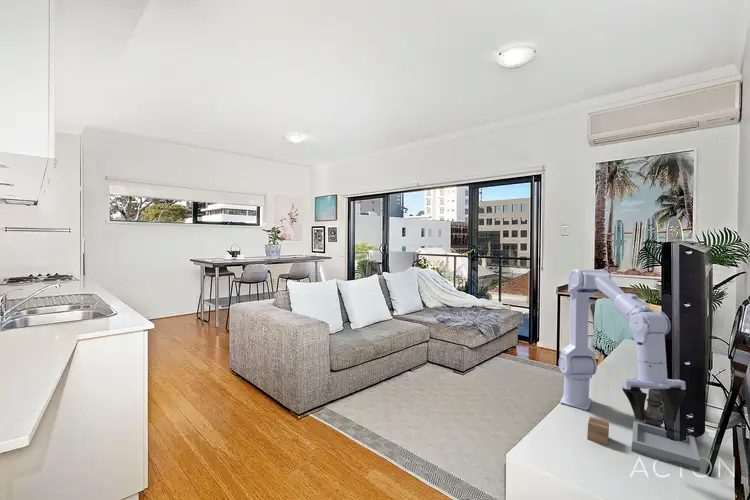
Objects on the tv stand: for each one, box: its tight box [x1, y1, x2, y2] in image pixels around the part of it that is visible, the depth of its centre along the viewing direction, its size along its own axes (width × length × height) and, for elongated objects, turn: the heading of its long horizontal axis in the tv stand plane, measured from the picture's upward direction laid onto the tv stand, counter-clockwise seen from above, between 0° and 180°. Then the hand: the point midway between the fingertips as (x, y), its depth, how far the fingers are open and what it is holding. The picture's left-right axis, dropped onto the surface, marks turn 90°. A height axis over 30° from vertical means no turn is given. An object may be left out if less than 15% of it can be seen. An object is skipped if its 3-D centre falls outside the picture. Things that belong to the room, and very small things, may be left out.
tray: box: [631, 420, 701, 472], centre depth 95 cm, size 13×13×2 cm
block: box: [586, 416, 610, 446], centre depth 99 cm, size 4×4×4 cm
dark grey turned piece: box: [641, 389, 665, 429], centre depth 106 cm, size 6×6×12 cm
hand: (655, 420), depth 89 cm, fingers open, 7 cm apart
